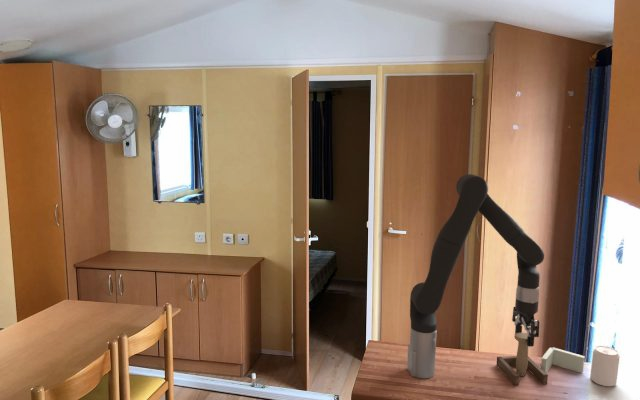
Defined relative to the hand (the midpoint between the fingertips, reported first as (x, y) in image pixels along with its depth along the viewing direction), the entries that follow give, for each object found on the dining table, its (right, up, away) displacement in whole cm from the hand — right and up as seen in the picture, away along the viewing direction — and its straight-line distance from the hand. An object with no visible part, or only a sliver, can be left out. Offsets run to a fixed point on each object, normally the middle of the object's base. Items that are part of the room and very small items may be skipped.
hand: (524, 340), depth 175 cm
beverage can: (+27, -14, -2) cm, 31 cm away
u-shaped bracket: (0, -13, +2) cm, 13 cm away
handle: (0, -13, +2) cm, 13 cm away
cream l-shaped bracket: (+15, -12, +7) cm, 21 cm away
